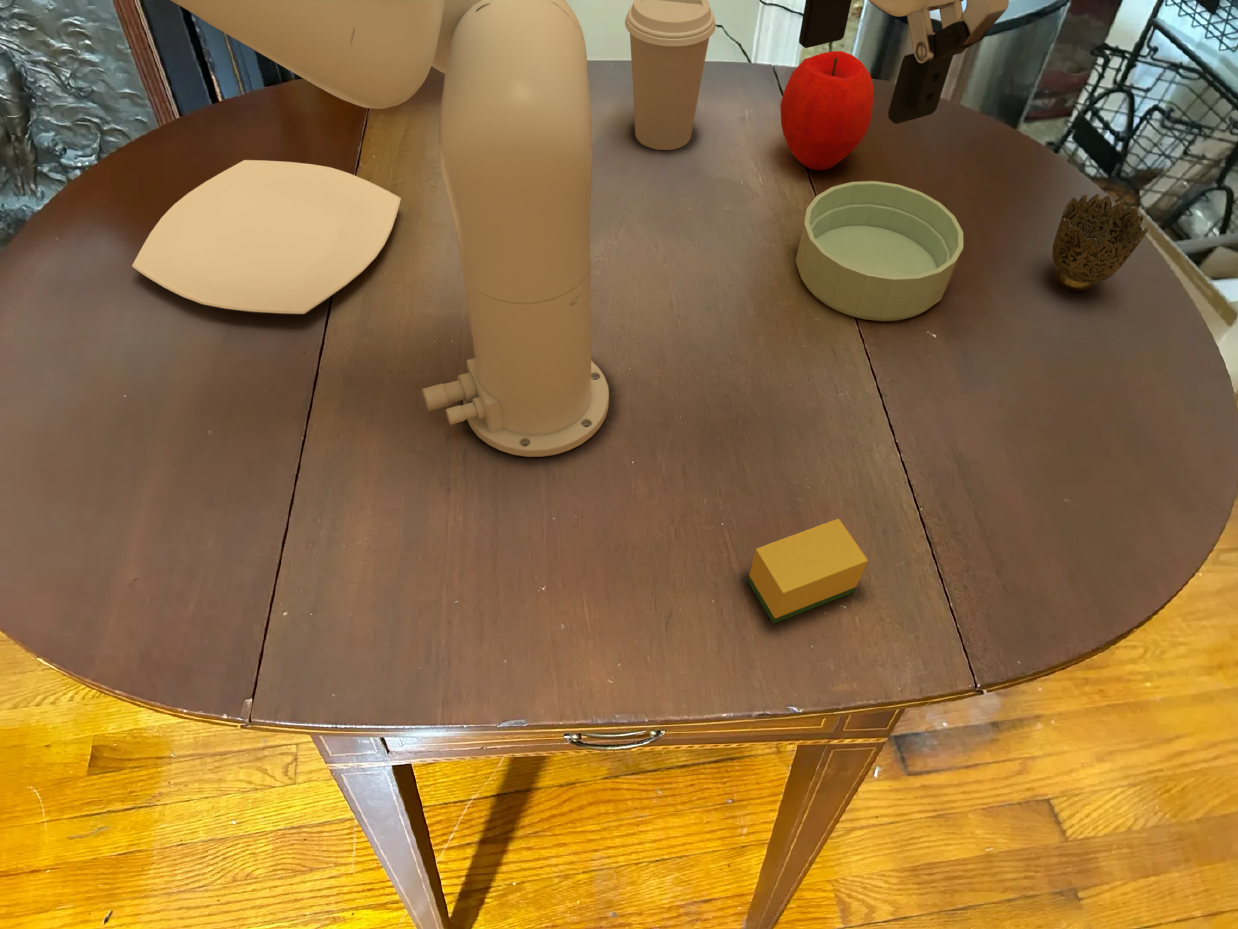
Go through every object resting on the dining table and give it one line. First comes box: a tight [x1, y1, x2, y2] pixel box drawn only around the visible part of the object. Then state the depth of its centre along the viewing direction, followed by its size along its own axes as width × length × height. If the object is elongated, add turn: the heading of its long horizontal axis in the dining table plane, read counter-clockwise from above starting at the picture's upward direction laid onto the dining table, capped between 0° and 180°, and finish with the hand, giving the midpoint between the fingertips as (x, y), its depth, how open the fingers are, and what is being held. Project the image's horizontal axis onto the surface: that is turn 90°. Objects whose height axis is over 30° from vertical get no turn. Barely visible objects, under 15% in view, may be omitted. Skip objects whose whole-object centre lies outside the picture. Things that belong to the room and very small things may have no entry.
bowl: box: [795, 180, 964, 322], centre depth 89 cm, size 15×15×6 cm
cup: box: [1051, 193, 1149, 293], centre depth 88 cm, size 8×7×8 cm
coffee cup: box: [624, 0, 717, 151], centre depth 100 cm, size 10×10×15 cm
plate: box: [131, 159, 402, 316], centre depth 91 cm, size 23×23×2 cm
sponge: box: [747, 518, 869, 625], centre depth 67 cm, size 7×4×4 cm, turn 113°
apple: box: [779, 50, 875, 171], centre depth 98 cm, size 10×10×12 cm
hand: (863, 77), depth 57 cm, fingers open, 9 cm apart
